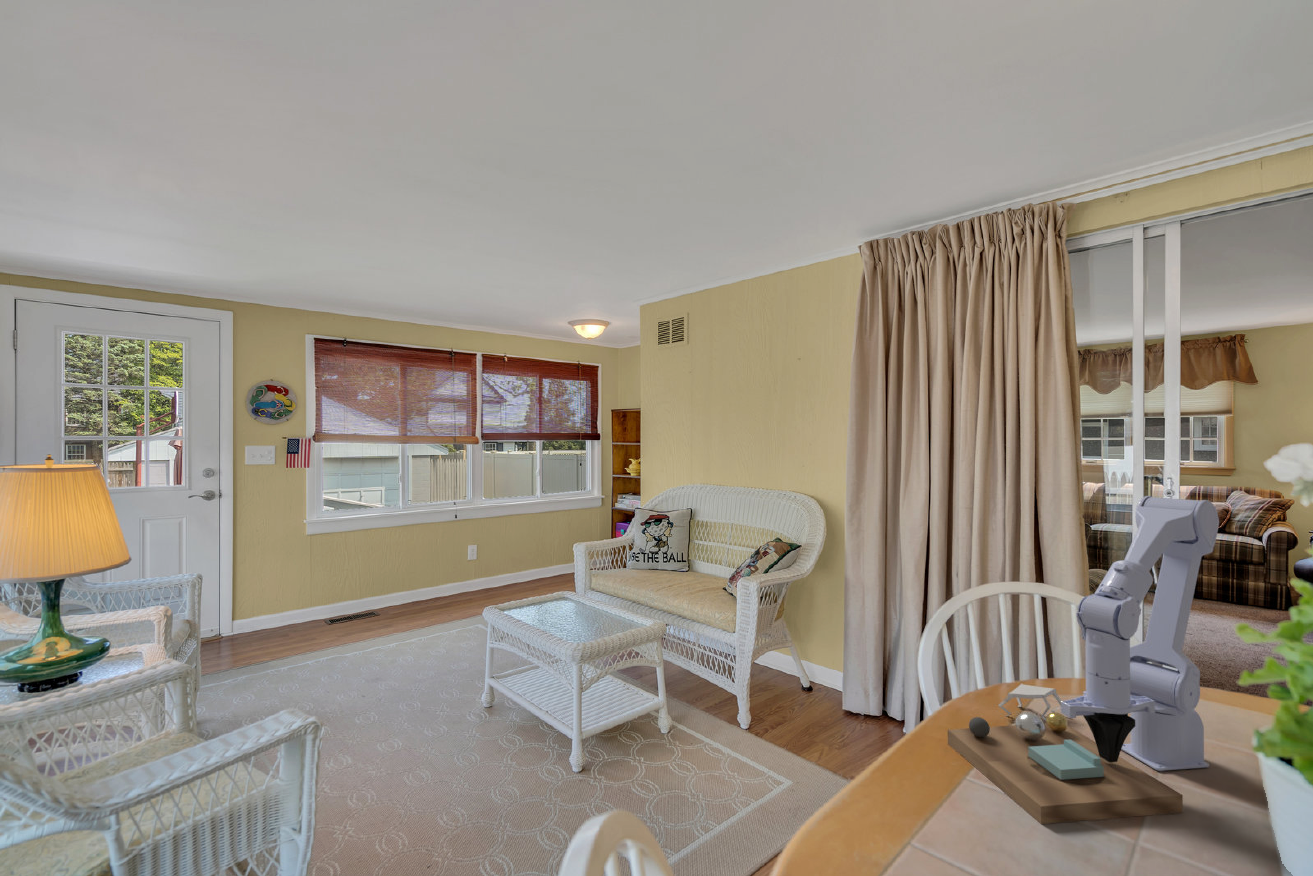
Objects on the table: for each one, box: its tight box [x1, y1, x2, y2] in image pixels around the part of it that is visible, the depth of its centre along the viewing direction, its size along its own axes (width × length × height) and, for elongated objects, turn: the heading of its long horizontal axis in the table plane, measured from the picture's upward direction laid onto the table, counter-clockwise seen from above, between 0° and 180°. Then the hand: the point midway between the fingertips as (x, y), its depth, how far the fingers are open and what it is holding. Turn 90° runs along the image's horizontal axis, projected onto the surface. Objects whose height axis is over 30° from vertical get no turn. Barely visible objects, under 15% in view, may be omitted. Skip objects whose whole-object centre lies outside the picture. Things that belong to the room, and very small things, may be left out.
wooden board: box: [947, 722, 1184, 825], centre depth 100 cm, size 22×23×2 cm
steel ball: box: [1015, 711, 1045, 741], centre depth 107 cm, size 4×4×4 cm
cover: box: [1028, 739, 1104, 780], centre depth 98 cm, size 7×7×2 cm
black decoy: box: [968, 716, 991, 737], centre depth 108 cm, size 3×3×3 cm
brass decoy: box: [1045, 711, 1069, 732], centre depth 109 cm, size 3×3×3 cm
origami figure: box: [997, 683, 1062, 721], centre depth 122 cm, size 12×8×5 cm
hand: (1108, 759), depth 98 cm, fingers closed
